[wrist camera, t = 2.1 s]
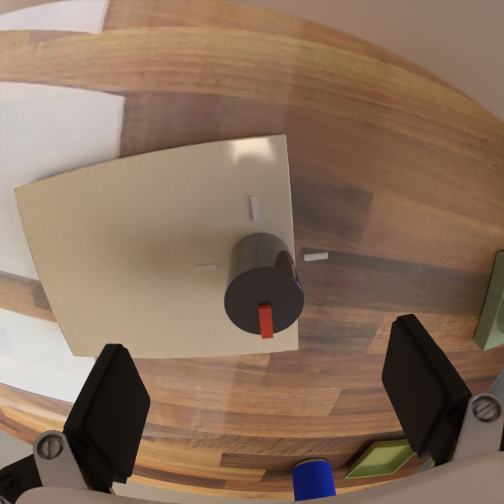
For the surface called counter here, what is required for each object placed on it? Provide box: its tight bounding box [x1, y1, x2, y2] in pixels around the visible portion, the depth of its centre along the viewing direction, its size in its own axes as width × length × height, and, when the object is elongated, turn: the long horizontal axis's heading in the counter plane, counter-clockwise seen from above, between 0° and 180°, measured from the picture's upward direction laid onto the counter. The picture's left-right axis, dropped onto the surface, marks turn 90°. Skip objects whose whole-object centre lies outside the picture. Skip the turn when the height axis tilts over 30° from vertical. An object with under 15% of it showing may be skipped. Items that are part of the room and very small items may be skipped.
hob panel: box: [14, 134, 328, 358], centre depth 19 cm, size 14×20×3 cm
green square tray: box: [344, 439, 415, 478], centre depth 31 cm, size 9×9×2 cm
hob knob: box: [224, 233, 304, 339], centre depth 15 cm, size 4×4×5 cm
